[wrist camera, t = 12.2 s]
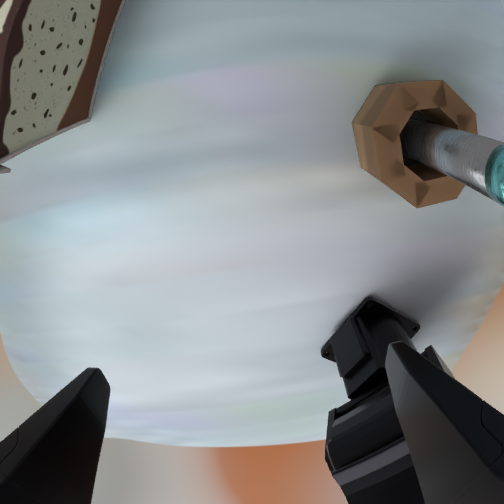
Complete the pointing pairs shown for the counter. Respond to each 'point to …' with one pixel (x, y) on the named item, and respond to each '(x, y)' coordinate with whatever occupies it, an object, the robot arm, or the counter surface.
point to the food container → (50, 67)
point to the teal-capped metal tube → (457, 155)
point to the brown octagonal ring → (388, 140)
